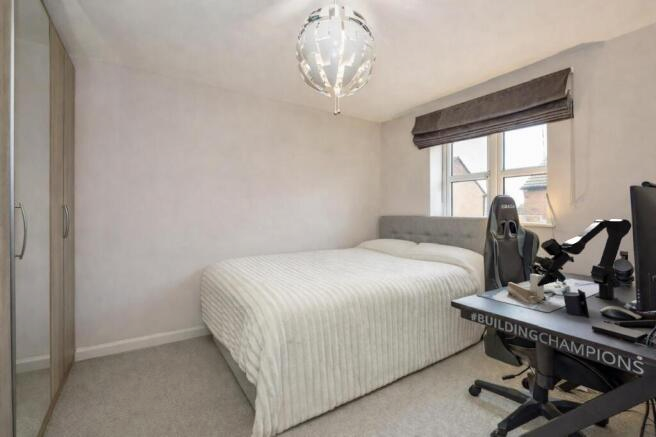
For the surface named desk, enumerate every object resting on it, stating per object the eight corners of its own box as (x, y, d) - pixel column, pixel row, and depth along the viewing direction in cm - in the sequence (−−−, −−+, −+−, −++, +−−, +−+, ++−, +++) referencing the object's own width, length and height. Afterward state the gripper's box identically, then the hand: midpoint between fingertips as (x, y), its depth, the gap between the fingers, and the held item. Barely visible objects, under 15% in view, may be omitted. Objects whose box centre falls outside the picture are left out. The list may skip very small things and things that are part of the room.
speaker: (588, 313, 124) (585, 288, 124) (589, 318, 120) (586, 292, 120) (565, 311, 129) (562, 287, 129) (565, 315, 125) (562, 291, 125)
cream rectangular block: (536, 296, 150) (536, 273, 150) (543, 299, 145) (543, 276, 144) (530, 296, 150) (530, 273, 150) (537, 299, 145) (537, 276, 144)
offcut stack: (524, 295, 153) (524, 286, 153) (537, 301, 143) (537, 292, 143) (516, 295, 153) (516, 286, 153) (529, 301, 143) (529, 292, 143)
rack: (531, 293, 155) (531, 282, 155) (552, 302, 139) (553, 290, 139) (508, 293, 156) (508, 282, 156) (527, 302, 140) (527, 290, 140)
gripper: (533, 248, 156) (511, 269, 157) (559, 253, 137) (534, 277, 138) (548, 263, 156) (526, 284, 157) (576, 270, 137) (551, 293, 138)
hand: (533, 284), depth 147 cm, fingers closed on cream rectangular block, 5 cm apart
